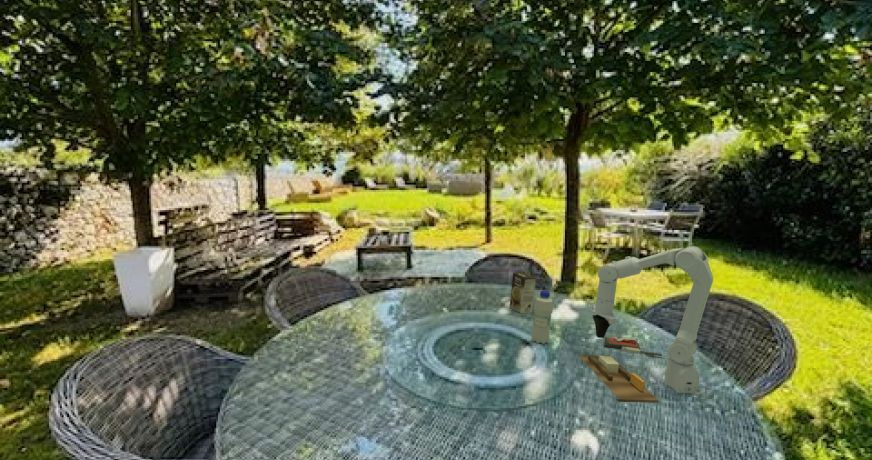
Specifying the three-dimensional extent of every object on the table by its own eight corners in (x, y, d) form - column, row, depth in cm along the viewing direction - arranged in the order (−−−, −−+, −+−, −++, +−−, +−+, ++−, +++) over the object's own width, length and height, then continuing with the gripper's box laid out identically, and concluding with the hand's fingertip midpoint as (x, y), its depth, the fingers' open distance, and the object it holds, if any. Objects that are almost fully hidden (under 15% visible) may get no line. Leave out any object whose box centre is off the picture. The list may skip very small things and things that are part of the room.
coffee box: (508, 307, 219) (512, 272, 217) (520, 306, 222) (524, 271, 220) (520, 313, 211) (524, 277, 209) (532, 312, 214) (536, 277, 211)
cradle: (658, 402, 141) (659, 395, 141) (618, 401, 140) (619, 394, 139) (610, 358, 171) (611, 352, 170) (578, 357, 169) (578, 351, 169)
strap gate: (631, 381, 151) (633, 372, 151) (643, 391, 145) (645, 381, 145) (629, 381, 151) (630, 372, 151) (640, 391, 145) (642, 381, 145)
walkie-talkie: (604, 352, 177) (662, 360, 174) (606, 340, 176) (664, 348, 173) (600, 343, 185) (655, 350, 183) (602, 332, 185) (657, 339, 182)
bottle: (527, 343, 178) (533, 290, 175) (533, 337, 184) (539, 286, 181) (545, 348, 175) (552, 294, 172) (550, 342, 181) (557, 290, 178)
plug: (617, 372, 157) (619, 364, 157) (606, 372, 157) (607, 363, 156) (609, 364, 163) (610, 356, 163) (597, 364, 163) (599, 355, 162)
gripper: (585, 291, 171) (580, 328, 173) (603, 305, 157) (598, 345, 159) (604, 292, 172) (599, 329, 174) (624, 306, 158) (618, 345, 160)
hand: (600, 337), depth 167 cm, fingers closed
